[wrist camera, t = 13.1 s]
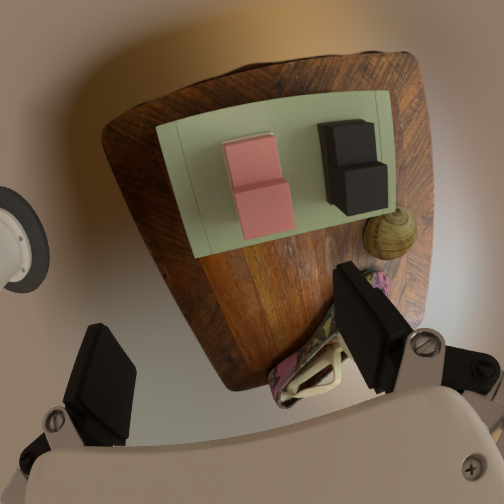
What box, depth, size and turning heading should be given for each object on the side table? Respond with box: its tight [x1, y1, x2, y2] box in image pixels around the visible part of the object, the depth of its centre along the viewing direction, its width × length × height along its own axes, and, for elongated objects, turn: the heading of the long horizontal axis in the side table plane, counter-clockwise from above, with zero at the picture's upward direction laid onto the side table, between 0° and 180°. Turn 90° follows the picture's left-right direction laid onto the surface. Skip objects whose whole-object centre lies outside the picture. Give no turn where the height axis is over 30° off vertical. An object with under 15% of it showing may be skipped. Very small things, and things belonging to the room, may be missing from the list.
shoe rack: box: [156, 90, 396, 258], centre depth 28 cm, size 20×12×12 cm, turn 101°
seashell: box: [363, 206, 417, 260], centre depth 39 cm, size 10×7×8 cm
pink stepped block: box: [220, 131, 295, 240], centre depth 21 cm, size 7×4×4 cm, turn 11°
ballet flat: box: [269, 270, 389, 409], centre depth 45 cm, size 11×30×11 cm, turn 144°
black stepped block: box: [317, 119, 388, 217], centre depth 21 cm, size 7×4×4 cm, turn 11°
